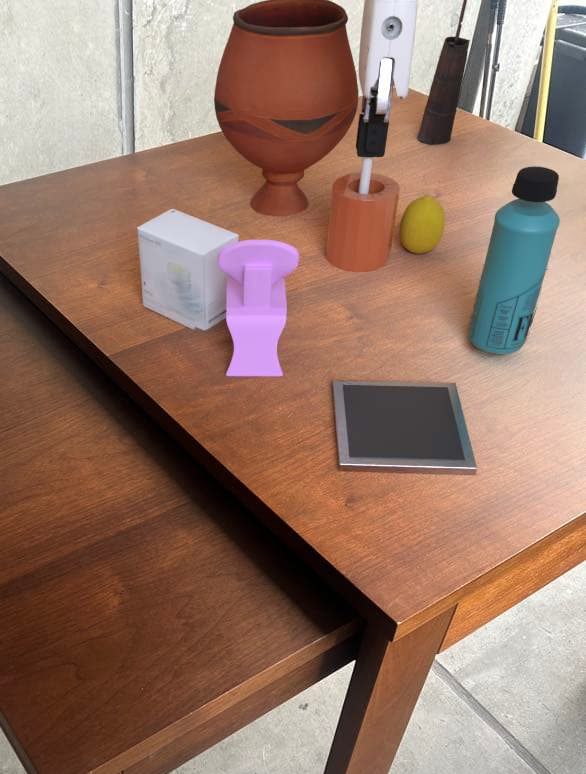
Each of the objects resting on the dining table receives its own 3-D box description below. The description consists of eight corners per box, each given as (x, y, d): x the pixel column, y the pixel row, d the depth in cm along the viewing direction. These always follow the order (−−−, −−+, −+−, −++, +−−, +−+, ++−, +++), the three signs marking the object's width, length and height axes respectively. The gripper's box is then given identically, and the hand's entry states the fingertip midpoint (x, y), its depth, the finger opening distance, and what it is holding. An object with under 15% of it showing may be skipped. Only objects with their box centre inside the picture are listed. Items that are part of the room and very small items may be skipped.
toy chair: (289, 333, 101) (297, 208, 91) (292, 376, 95) (302, 247, 84) (218, 333, 102) (218, 208, 91) (216, 376, 95) (217, 248, 85)
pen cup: (384, 248, 115) (396, 172, 108) (390, 277, 110) (402, 200, 103) (324, 247, 116) (331, 172, 109) (326, 277, 110) (334, 200, 103)
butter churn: (440, 157, 136) (479, -55, 116) (391, 141, 141) (421, -65, 121) (474, 141, 140) (517, -66, 120) (425, 126, 145) (460, -75, 125)
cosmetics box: (140, 307, 106) (134, 225, 99) (175, 287, 109) (173, 206, 102) (203, 337, 101) (203, 253, 94) (239, 315, 104) (241, 232, 97)
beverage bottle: (509, 373, 94) (562, 192, 80) (452, 353, 97) (493, 175, 83) (532, 346, 98) (586, 168, 84) (476, 328, 101) (520, 153, 87)
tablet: (454, 389, 93) (456, 381, 92) (475, 475, 83) (477, 467, 82) (331, 386, 93) (332, 379, 93) (338, 471, 84) (339, 463, 83)
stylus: (362, 228, 110) (379, 104, 100) (363, 233, 109) (380, 107, 99) (353, 228, 110) (368, 104, 100) (353, 233, 109) (369, 107, 99)
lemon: (392, 262, 112) (402, 202, 107) (398, 243, 116) (408, 184, 110) (435, 268, 111) (447, 207, 105) (440, 248, 115) (452, 189, 109)
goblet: (317, 173, 133) (333, -15, 115) (367, 227, 120) (394, 24, 102) (197, 189, 130) (195, -1, 112) (235, 247, 117) (240, 41, 99)
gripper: (439, -8, 84) (408, 180, 97) (421, -46, 95) (395, 128, 108) (362, -8, 85) (341, 179, 98) (352, -45, 96) (334, 128, 109)
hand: (369, 152), depth 103 cm, fingers closed on stylus, 1 cm apart
